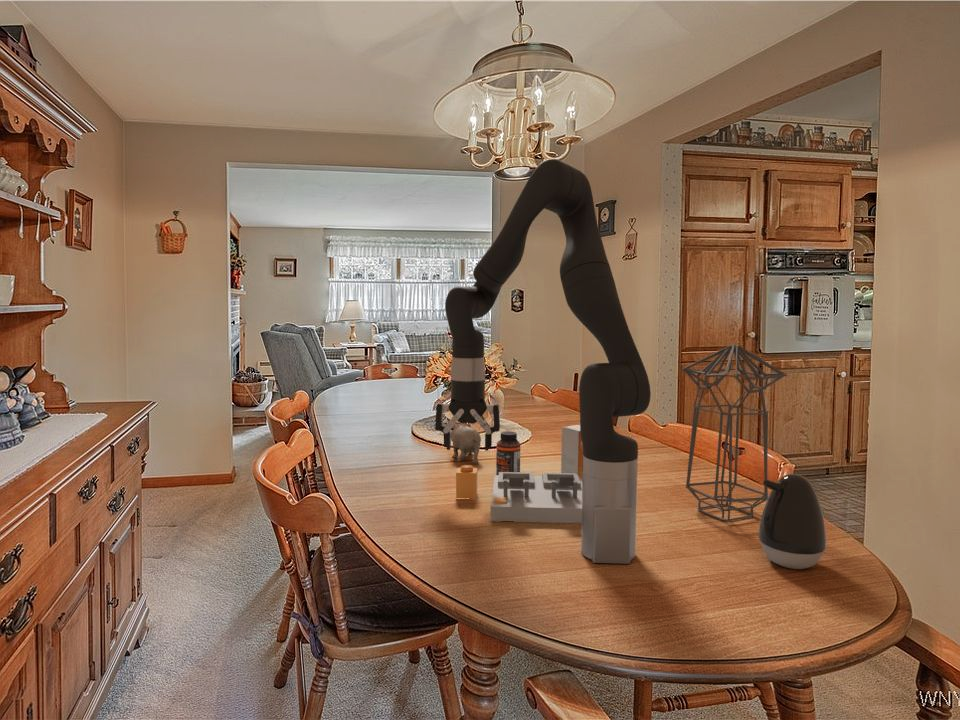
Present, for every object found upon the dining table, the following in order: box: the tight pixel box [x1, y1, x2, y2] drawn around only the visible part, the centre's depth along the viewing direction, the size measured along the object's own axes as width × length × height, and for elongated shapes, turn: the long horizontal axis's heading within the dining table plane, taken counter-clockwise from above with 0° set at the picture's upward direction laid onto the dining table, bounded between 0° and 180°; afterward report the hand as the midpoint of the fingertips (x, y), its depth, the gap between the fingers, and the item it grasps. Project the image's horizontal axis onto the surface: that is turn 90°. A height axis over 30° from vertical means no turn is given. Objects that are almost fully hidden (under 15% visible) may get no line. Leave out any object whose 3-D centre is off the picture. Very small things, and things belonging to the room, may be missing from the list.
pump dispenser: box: [758, 473, 827, 570], centre depth 107 cm, size 10×10×15 cm
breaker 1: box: [509, 478, 523, 486], centre depth 134 cm, size 11×3×2 cm, turn 177°
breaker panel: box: [490, 471, 582, 524], centre depth 138 cm, size 23×20×6 cm
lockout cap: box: [455, 464, 478, 500], centre depth 144 cm, size 4×4×7 cm
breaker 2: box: [556, 477, 574, 489], centre depth 133 cm, size 11×3×2 cm, turn 177°
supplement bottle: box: [495, 430, 521, 475], centre depth 159 cm, size 6×6×11 cm
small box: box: [560, 424, 583, 481], centre depth 158 cm, size 8×6×13 cm
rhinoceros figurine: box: [451, 423, 482, 466], centre depth 179 cm, size 8×14×15 cm
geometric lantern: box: [681, 344, 788, 522], centre depth 132 cm, size 16×16×35 cm
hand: (467, 449), depth 143 cm, fingers open, 8 cm apart
